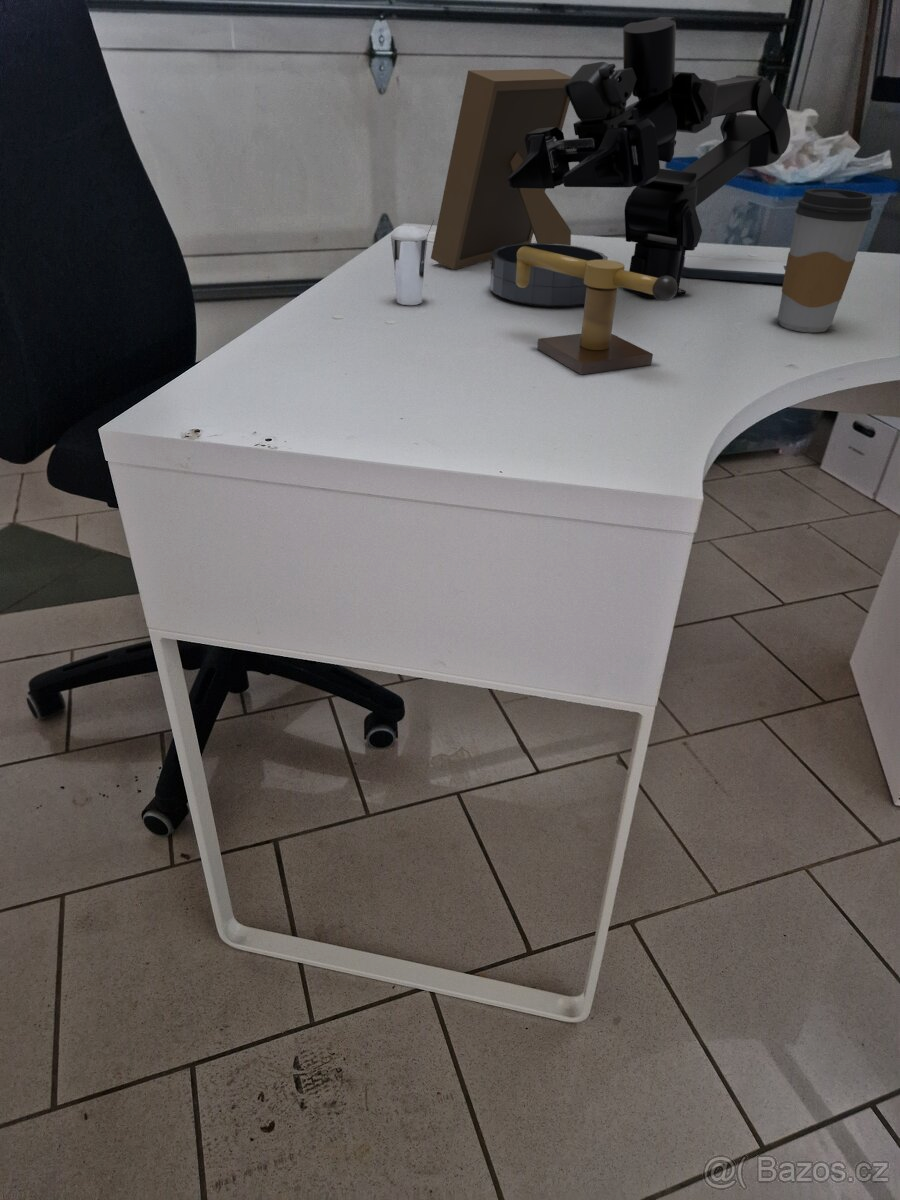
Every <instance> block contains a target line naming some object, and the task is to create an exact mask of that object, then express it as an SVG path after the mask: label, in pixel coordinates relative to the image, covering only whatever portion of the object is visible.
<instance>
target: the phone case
mask: <svg viewBox="0 0 900 1200" xmlns="http://www.w3.org/2000/svg"><path fill="white" fill-rule="evenodd" d="M786 265H787V262H783V261H782V262H781V261H766V260H752V259H734V258H733V259H732V258H721V257H720V258H717V257H704V256H703V257H701V256H700V257H699V256H685V257H684V263H683V268H682V274H681V277H683V278H695V279H708V280H709V279H710V280H722V281H723V280H724V281H739V282H753V283H765V284H777V285H783V281H784V276H785V270H786Z"/></svg>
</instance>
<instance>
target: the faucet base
mask: <svg viewBox="0 0 900 1200" xmlns="http://www.w3.org/2000/svg"><path fill="white" fill-rule="evenodd" d="M617 295H618V288H613V289H602V288H594V287H590V286H587V289H586V297H585V304H584V307H583V315H582V322H581V323H582V324H581V333H574V334H565V335H555V336H550V337H539V338H538V339H537V348H536V349H537V350H538V351H539V352H541V353H543V354H545V355H547V356H548V357H550V358H551V359H553V360H555V361H556V362H558V363H560V364H562V365H564V366H565V367H567V368H569V369H570V370H572V371H574V372H576V373H577V374H579V375H581V376H582V375H587V374H588V375H589V374H594V373H603V372H610V371H615V370H616V371H617V370H622V369H623V370H625V369H630V368H638V367H645V366H650V365H652V363H653V357H654V354H653V353H652V352H650V351H648V350H646V349H644V348H642V347H640V346H638V345H636V344H634V343H632V342H630V341H628V340H625V339H623V338H621V337H619V336H618V335H616V334H613V333H612V331H613V324H614V316H615V310H616V302H617Z"/></svg>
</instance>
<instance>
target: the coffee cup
mask: <svg viewBox="0 0 900 1200" xmlns="http://www.w3.org/2000/svg"><path fill="white" fill-rule="evenodd" d="M872 200H873V195H872V194H870V193H867V192H861V191H857V190H856V191H855V190H849V189H841V188H840V189H839V188H808V189H806V190H804V193H803V196H802V199H799V200H798V203H797V207H796V208H795V211H794V212H795V213H796V214H795V219H794V225H793V231H792V237H791V242H790V248H789V252H788V254H787V260H786V263H787V265H786V270H785V276H784V281H783V284H782V287H781V297H780V298H781V299H780V302H779V308H778V313H777V319H778V324H779V325H780V326H781V327H783V328H785V329H788V330H791V331H795V332H801V333H812V334H813V333H814V334H815V333H823V332H826V331H828V329H829V327H830V326H832V324H833V321H834V319H835V316H836V313H837V310H838V308H839V304H840V302H841V301H842V298H843V295H844V292H845V289H846V287H847V284H848V282H849V278H850V276H851V273H852V270H853V268H854V265H855V262H856V257H857V255H858V252H859V249H860V245H861V244H862V240H863V237H864V234H865V231H866V229H867V226H868V223H869V221H871V220H872V212H873V210H874V206H873V205H872V202H873V201H872Z"/></svg>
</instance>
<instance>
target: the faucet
mask: <svg viewBox="0 0 900 1200" xmlns="http://www.w3.org/2000/svg"><path fill="white" fill-rule="evenodd" d="M531 266H535V267H539V268H543V269H547V270H551V271H555V272H559V273H563V274H567V275H571V276H575V277H579V278H583V279H584V281H583V283H584V284H585V285H587V286H590V287H594V288H602V289H613V288H617V289H618V288H623V287H624V288H623V289H625V288H628V289H632V290H636V291H640V292H644V293H648V294H652V295H654V297H655V298H654V299H656V300H657V301H659V302H662V303H663V302H668V301H671V300H672V299H673V298H674V297H675V295H676V292H677V283H676V281H675V279H674V278H672V277H671V276H661V277H659V278H656V277H652V276H647V275H643V274H639V273H634V272H630V271H629V270H625V264H624V263H623V262H620V261H617V260H613V259H612V260H611V259H607V260H590V261H587V260H583V259H579V258H574V257H570V256H566V255H561V254H557V253H553V252H548V251H544V250H540V249H535V248H531V247H527V246H523V247H521V248H520V249H519V250H518V251H517V269H516V284H517V285H518V286H519V287H521V288H524V287H526V286H528V284H529V282H530V272H531ZM676 296H677V295H676Z"/></svg>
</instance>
